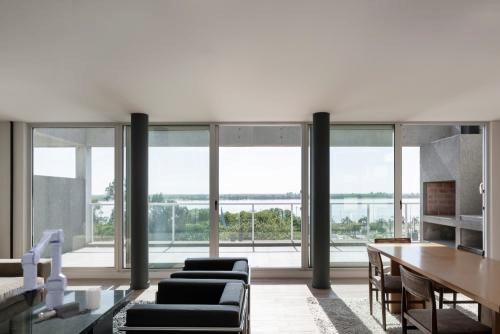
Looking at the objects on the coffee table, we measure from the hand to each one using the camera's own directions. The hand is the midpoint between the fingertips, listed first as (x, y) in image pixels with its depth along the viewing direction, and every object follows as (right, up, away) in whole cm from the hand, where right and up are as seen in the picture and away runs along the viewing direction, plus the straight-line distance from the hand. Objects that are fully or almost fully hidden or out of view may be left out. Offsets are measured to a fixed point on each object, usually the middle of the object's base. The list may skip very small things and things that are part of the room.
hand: (29, 306), depth 182 cm
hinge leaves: (+10, -10, +16) cm, 21 cm away
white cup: (+21, -10, +24) cm, 34 cm away
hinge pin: (+6, -9, +10) cm, 15 cm away
